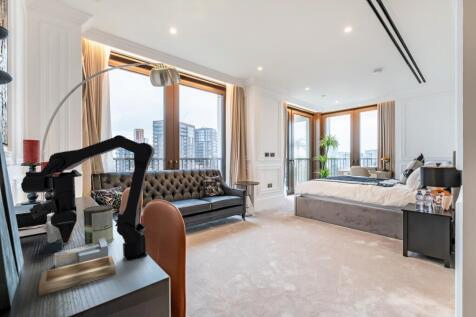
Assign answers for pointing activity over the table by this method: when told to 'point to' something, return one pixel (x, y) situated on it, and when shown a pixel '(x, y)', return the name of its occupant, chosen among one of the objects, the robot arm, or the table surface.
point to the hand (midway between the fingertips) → (66, 238)
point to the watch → (51, 239)
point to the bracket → (95, 251)
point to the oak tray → (76, 274)
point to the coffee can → (98, 223)
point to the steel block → (72, 255)
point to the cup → (58, 231)
